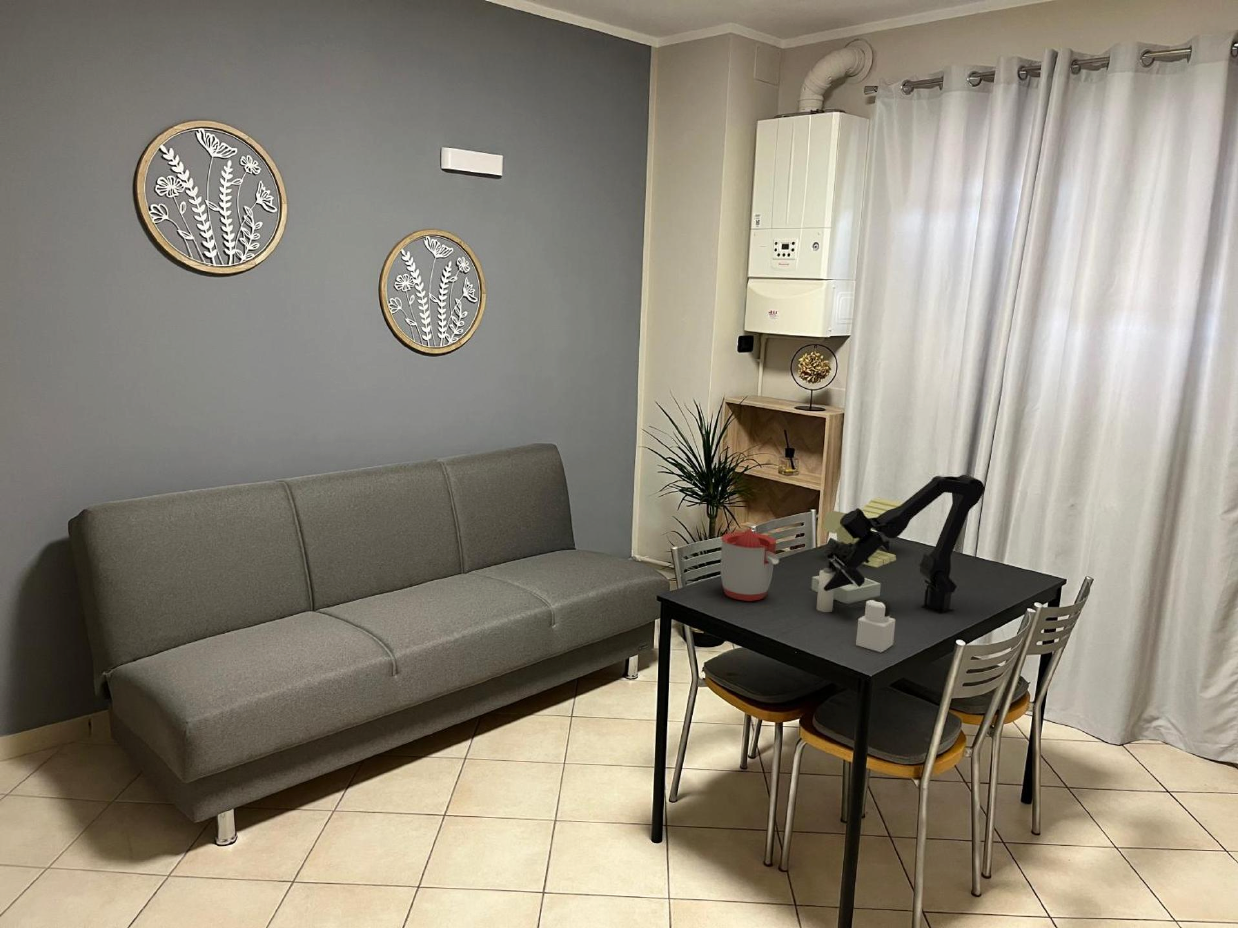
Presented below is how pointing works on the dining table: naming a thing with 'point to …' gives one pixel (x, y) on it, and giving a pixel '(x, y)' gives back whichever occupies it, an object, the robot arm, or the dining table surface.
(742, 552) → the citrus juicer
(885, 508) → the slatted curved stool
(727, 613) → the dining table surface
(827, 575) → the grey-capped cream cylinder
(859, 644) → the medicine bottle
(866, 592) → the walled box
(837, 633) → the dining table surface
